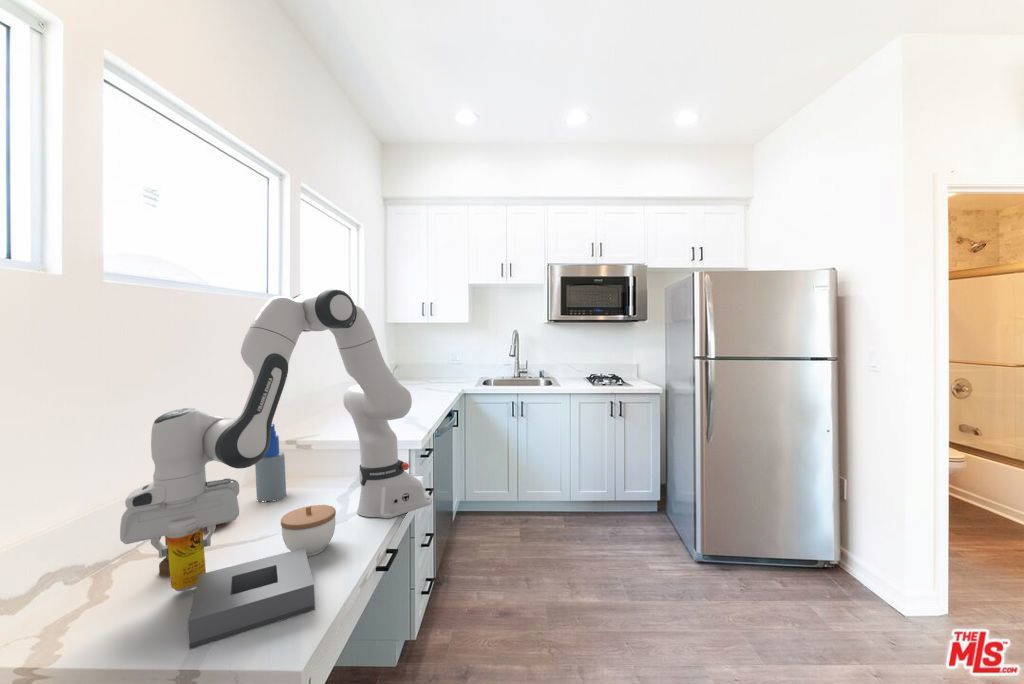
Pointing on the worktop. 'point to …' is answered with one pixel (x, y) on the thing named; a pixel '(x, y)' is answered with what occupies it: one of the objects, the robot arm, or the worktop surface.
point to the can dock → (250, 596)
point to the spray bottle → (271, 472)
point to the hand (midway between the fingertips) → (185, 550)
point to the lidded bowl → (309, 528)
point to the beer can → (185, 553)
